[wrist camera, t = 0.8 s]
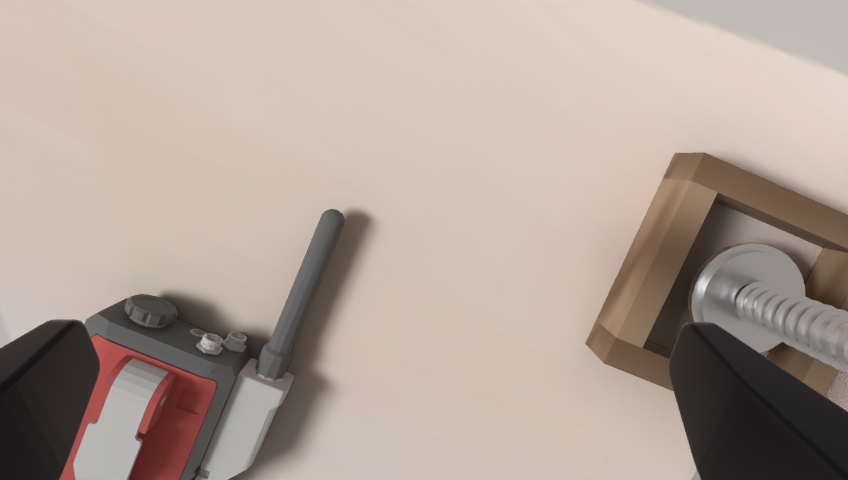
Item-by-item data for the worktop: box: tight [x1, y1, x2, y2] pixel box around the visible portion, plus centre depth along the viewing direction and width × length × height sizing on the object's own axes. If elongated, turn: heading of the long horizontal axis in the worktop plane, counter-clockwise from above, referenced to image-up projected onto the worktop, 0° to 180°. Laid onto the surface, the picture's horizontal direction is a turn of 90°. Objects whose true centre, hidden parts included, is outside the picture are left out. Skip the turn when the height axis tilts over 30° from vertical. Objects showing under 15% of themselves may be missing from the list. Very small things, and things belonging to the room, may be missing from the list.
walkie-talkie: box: [60, 209, 345, 480], centre depth 24 cm, size 9×4×20 cm
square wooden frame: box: [585, 153, 848, 396], centre depth 24 cm, size 9×9×2 cm
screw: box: [688, 242, 848, 374], centre depth 19 cm, size 13×5×5 cm
